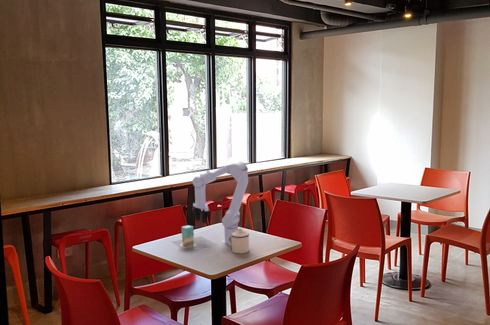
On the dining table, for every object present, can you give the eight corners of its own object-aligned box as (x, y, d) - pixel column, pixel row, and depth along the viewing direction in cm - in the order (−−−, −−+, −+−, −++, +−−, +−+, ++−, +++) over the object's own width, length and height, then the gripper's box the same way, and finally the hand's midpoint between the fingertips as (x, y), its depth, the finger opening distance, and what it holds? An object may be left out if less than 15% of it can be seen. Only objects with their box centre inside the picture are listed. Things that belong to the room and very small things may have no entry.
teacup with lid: (253, 250, 235) (252, 228, 233) (241, 255, 228) (241, 232, 226) (235, 246, 242) (234, 224, 241) (223, 250, 235) (222, 228, 234)
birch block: (193, 245, 244) (193, 236, 243) (185, 246, 241) (185, 237, 241) (190, 243, 247) (189, 234, 247) (182, 244, 245) (182, 235, 245)
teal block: (193, 235, 244) (193, 226, 243) (186, 237, 241) (186, 228, 240) (188, 234, 247) (188, 225, 246) (181, 236, 244) (181, 226, 243)
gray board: (217, 246, 244) (217, 244, 243) (186, 252, 234) (186, 250, 234) (201, 237, 261) (201, 236, 260) (171, 242, 251) (171, 241, 251)
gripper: (213, 198, 251) (213, 223, 252) (200, 194, 263) (201, 218, 264) (201, 200, 247) (202, 225, 249) (189, 196, 259) (190, 219, 261)
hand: (201, 221), depth 256 cm, fingers open, 7 cm apart
